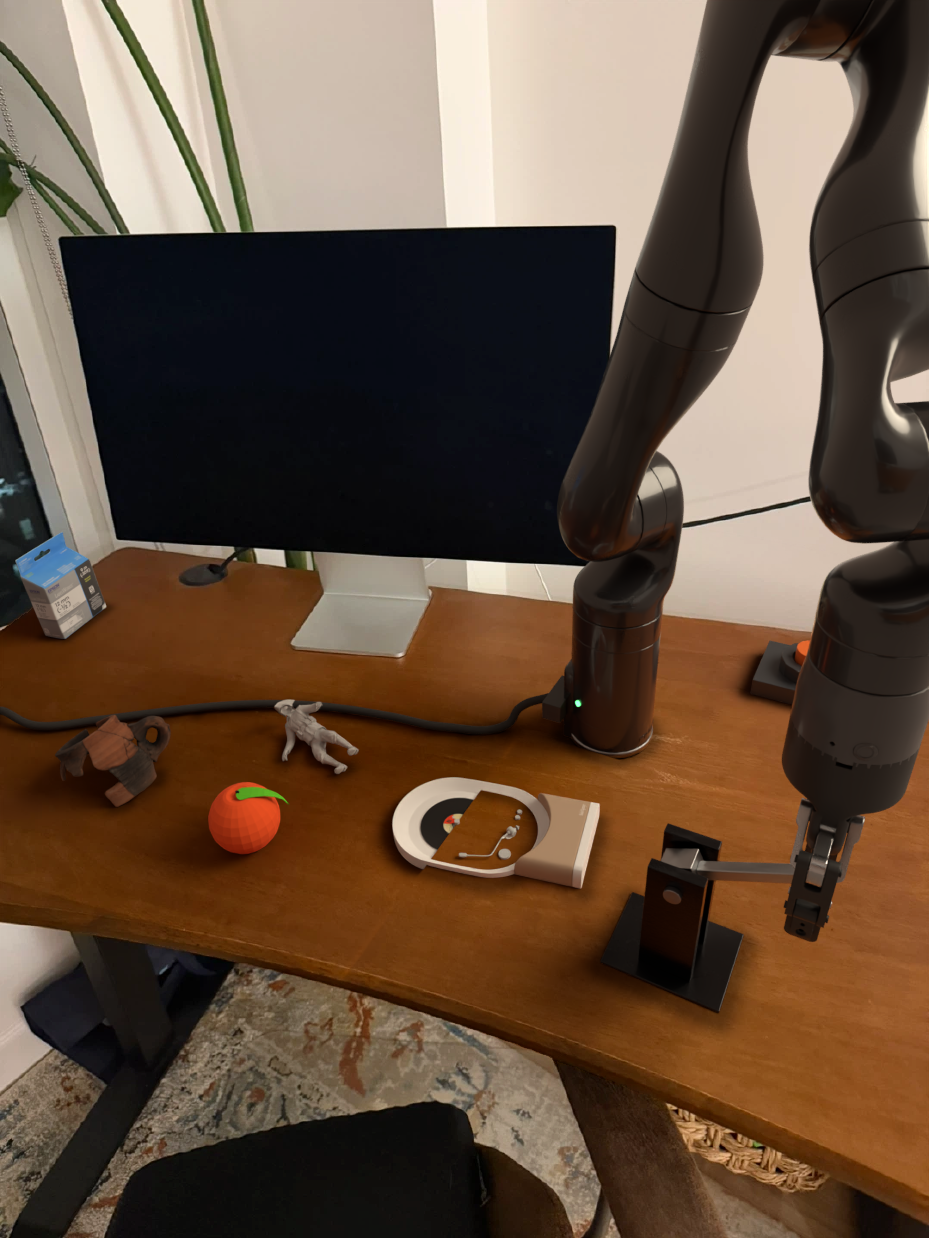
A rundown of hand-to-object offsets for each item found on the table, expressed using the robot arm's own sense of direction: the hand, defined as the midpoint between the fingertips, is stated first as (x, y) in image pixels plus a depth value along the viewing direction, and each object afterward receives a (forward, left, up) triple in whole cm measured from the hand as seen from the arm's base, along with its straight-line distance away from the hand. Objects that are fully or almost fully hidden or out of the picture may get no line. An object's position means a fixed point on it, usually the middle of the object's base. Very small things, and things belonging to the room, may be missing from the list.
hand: (810, 895), depth 61 cm
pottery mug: (-70, -5, -13) cm, 72 cm away
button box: (-6, +43, -13) cm, 45 cm away
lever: (-4, 0, -1) cm, 5 cm away
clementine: (-50, -6, -13) cm, 52 cm away
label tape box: (-102, +15, -13) cm, 104 cm away
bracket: (-9, 0, -13) cm, 16 cm away
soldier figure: (-53, +8, -13) cm, 55 cm away
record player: (-29, +5, -13) cm, 32 cm away
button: (-6, +43, -9) cm, 44 cm away
